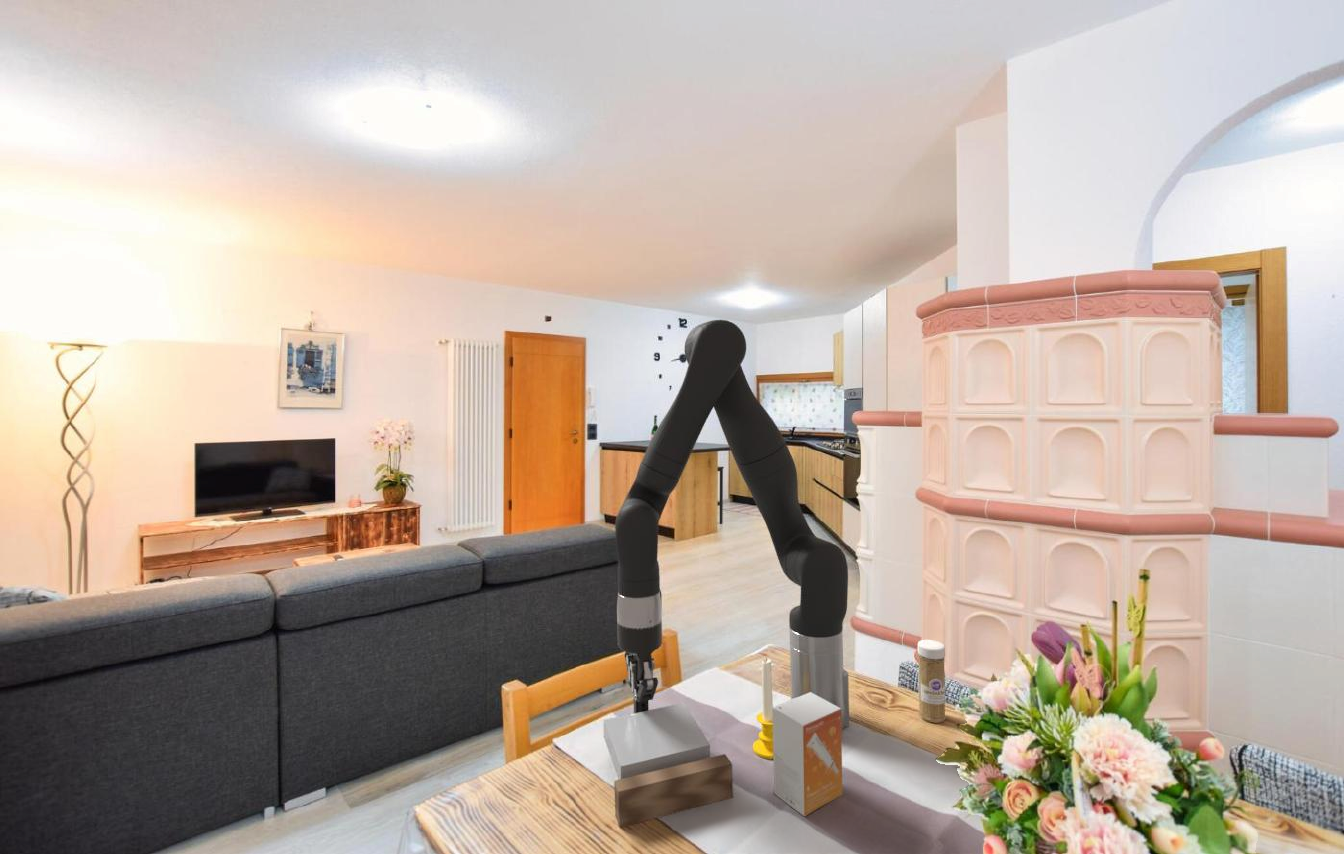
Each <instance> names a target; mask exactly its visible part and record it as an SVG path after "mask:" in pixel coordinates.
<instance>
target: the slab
mask: <svg viewBox="0 0 1344 854" xmlns="http://www.w3.org/2000/svg"><path fill="white" fill-rule="evenodd" d="M603 739H604V742H605V744H606V747H607V750H608V753H609V755H610V758H611V761H612V765H613V767H614V770H615V772H616V776H617V778H618V779H617V780H619V779H624V778H628V777H632V776H636V775H640V774H644V773H648V772H653V771H657V770H661V769H665V768H669V767H673V766H678V765H682V764H686V763H690V762H694V761H698V760H703V759H707V758H711V744H710V742H709V741H708V739H707V738H706V736H705V735H704V733H703V731H702V729H701V728H700V726H699V724H698V723H697V721H696V719H695V718H694V716H693V714H692V713H691V711H690V710H689V708H688V707H687V705H686V703H685V702H681V703H677V704H672V705H667V706H663V707H657V708H653V709H649V710H648V711H643V712H639V713H634V712H633V713H630V714H626V715H621V716H620V715H619V716H617V717H610V718H607V719H603Z"/></svg>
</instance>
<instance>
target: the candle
mask: <svg viewBox="0 0 1344 854" xmlns="http://www.w3.org/2000/svg"><path fill="white" fill-rule="evenodd" d="M761 689H762V690H761V693H762V694H761V695H762V697H761V699H762V712H760V713H757V715H756V717H755V718H756V721H757V722H758V723H760V724H761V731H760V732H759V733H758V739H757V740H756V741H754V742H753V744H752V750H753V753H754V754H755V755H756V756H758V757H760V758H762V759H766V760H773V711H772V708H773V707H774V704H773V702H774V701H773V700H774V699H773V698H774V697H773V671H772V660H771V659H770V658H767V657H765V659H763V660H762V661H761Z"/></svg>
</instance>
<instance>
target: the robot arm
mask: <svg viewBox="0 0 1344 854" xmlns="http://www.w3.org/2000/svg"><path fill="white" fill-rule="evenodd" d="M746 353H747V340H746V337H745V335H744V333H743V331H742V329H741V328H740V327H739V326H738V325H737V324H735V323H734V322H731V321H728V320H727V319H713V320H709V321H706V322H703V323H701V324H698V325H697V326H695V327H694V328H692V329H691V330H690V332H689V333H688V335H687V337H686V339H685V342H684V356H685V359H686V362H687V364H688V366H687V369H686V373H685V376H684V377H683V381H682V384H681V385H680V388H679V390H678V393H677V395H676V397H675V399H674V401H673V403H672V404H671V406H670V408H669V409H668V411H667V413H666V414H665V416H663V419H662V420H661V421H660V423H659V425H658V427H657V429H656V430H655V432H654V433H653V435H652V438H651V439H650V442H649V444H648V446H647V448H646V450H645V452H644V455H643V457H642V460H641V462H640V464H639V466H638V470H637V472H636V476H635V478H634V479H635V480H634V481H633V483H632V485H631V486H630V489H629V491H628V492H627V495H626V497H625V499H624V501H623V503H622V505H621V507H620V509H619V511H618V513H617V515H616V517H615V518H616V519H615V525H614V530H615V533H614V535H615V545H616V546H615V547H616V553H617V561H618V564H617V565H618V567H617V602H616V617H617V618H616V623H617V624H616V626H617V627H616V628H617V629H616V630H617V634H616V635H617V636H616V637H617V646H618V648H619V649H620V650H621V651H623V652H624V658H625V659H624V660H625V664H626V672H627V679H628V686H629V687H630V689H631V692H630V693H631V694H632V697H633V714H634V713H639V712H643V711H648V710H650V709H649V701H653V700H654V696H655V694H656V692H657V691H656V690H657V688H658V684H659V680H658V678H657V677H654V670H655V659H654V657H652V654H653V653H654V652H655V651H656V650H658V649H659V648H661V646H662V644H663V629H662V628H663V624H662V623H663V619H662V617H663V614H662V613H663V612H662V609H663V607H662V599H661V587H660V586H661V585H660V584H661V581H660V580H661V579H660V566H659V561H658V554H659V553H658V552H659V551H658V550H659V549H658V547H659V546H658V545H659V522H660V519H661V518H662V515H663V513H664V509H665V508H666V505H667V503H668V500H669V498H670V495H671V493H673V491H674V490H675V489H676V487H677V485H678V483H679V482H680V479H681V476H682V474H683V473H684V471H685V468H686V466H687V464H688V461H689V459H690V457H691V455H692V452H693V450H694V448H695V446H696V443H697V442H698V439H699V436H700V435H701V433H702V430H703V428H704V426H705V423H706V422H707V420H708V418H709V416H710V415H711V412H712V410H713V409H714V410H715V414H716V416H717V418H718V422H719V424H720V427H721V429H722V432H723V435H724V437H725V439H726V443H727V445H728V446H729V450H730V451H731V454H732V456H733V458H734V459H733V460H734V462H735V463H736V465H737V468H738V471H739V472H740V475H741V477H742V479H743V481H744V483H745V485H746V487H747V488H748V491H749V492H750V495H751V496H752V499H753V500H754V503H755V505H756V507H757V509H758V511H759V513H760V514H761V517H762V519H763V520H764V522H765V525H766V528H767V530H768V533H769V535H770V538H771V541H772V545H773V547H774V551H775V553H776V556H777V560H778V562H779V565H780V567H781V570H782V572H783V573H784V574H785V576H786V577H787V578H788V580H790V581H791V582H792V583H793V584H795V585H797V586H799V587H800V599H799V600H800V603H799V605H797V606H794V607H793V608H792V609H791V610H790V612H789V614H788V615H789V618H788V619H789V621H788V622H789V628H788V629H789V659H790V661H789V662H790V663H789V664H790V665H789V666H790V669H789V670H790V700H791V699H794V698H797V697H800V696H802V695H805V694H807V693H810V692H811V693H813V694H815V695H817V696H819V697H821V698H822V699H824V700H826V701H828V702H830V703H832V704H834V705H836V706H837V707H839V708H841V725H842V731H843V730H845V729H844V728H846V727H849V726H850V696H849V695H850V689H849V688H850V686H849V683H850V682H849V672H848V671H847V670H845V669H844V644H843V643H844V641H843V639H844V638H843V636H844V635H843V632H844V631H843V628H844V626H843V625H844V624H843V622H844V619H845V618H846V616H847V615H846V614H847V610H848V593H849V591H848V590H849V589H848V588H849V570H848V569H849V567H848V561H847V557H846V555H845V553H844V551H843V550H842V549H841V547H840V546H838V545H837V544H835V543H833V542H830V541H828V540H826V539H822V538H819V537H817V536H816V535H815V534H814V532H813V530H812V529H811V527H810V525H809V523H808V522H807V519H806V517H805V516H804V513H803V511H802V508H801V506H800V501H799V490H798V489H799V485H798V472H797V467H796V463H795V461H794V458H793V455H792V454H791V452H790V450H789V447H788V444H787V442H786V441H785V438H784V437H783V436H784V435H782V432H781V430H780V429H779V427H778V426H777V424H776V423H775V421H774V420H773V418H772V417H771V415H769V413H768V411H767V410H766V409H765V408H764V406H763V405H762V404H761V402H760V401H759V400H758V399H757V397H756V395H755V394H754V392H753V390H752V388H751V387H750V384H749V383H748V381H747V380H748V379H747V378H746V375H745V372H744V370H743V367H742V363H743V361H744V359H745V357H746Z"/></svg>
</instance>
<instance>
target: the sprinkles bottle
mask: <svg viewBox="0 0 1344 854" xmlns="http://www.w3.org/2000/svg"><path fill="white" fill-rule="evenodd" d="M917 655H918V670H917V672H918V673H917V675H918V678H917V679H918V683H917V684H918V685H917V686H918V687H917V689H918V690H917V691H918V704H919V705H918V708H919V709H918V716H919V718H921V719H922V720H924V721H925V722H926V721H927V722H929V723H933V724H934V723H936V724H937V723H938V724H939V723H943V722H945V720H946V719H947V718H946V672H945V657H946V646H945V645H944V644H943V643H942V642H940V641H937V640H933V639H922V640H919V641H918V642H917Z"/></svg>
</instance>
